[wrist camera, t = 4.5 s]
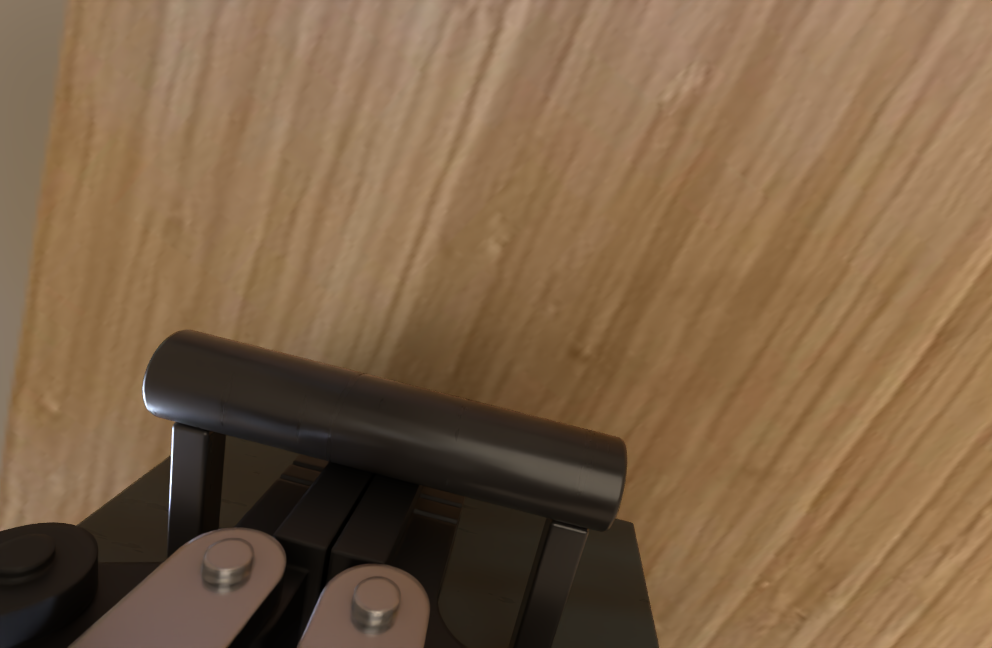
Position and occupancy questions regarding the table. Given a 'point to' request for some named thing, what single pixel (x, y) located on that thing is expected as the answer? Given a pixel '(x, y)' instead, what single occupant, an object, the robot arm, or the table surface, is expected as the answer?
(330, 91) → the table surface
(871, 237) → the table surface
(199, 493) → the drawer
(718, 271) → the table surface
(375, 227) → the table surface
